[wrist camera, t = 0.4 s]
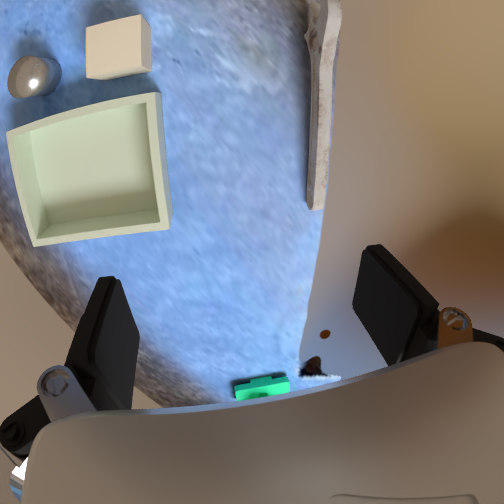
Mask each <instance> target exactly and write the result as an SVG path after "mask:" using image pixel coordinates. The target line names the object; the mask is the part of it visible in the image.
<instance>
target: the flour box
mask: <svg viewBox="0 0 504 504" xmlns="http://www.w3.org/2000/svg"><path fill="white" fill-rule="evenodd" d="M147 72H152V40H151V27H150V26H149V25H148V23H147V22H146V21H145V19H144V18H143V16H142V15H141V14H140V15H135V16H130V17H125V18H121V19H117V20H112V21H108V22H104V23H101V24H97V25H94V26H90V27H87V28H86V76H87V78H92V79H99V80H111V79H115V78H120V77H125V76H130V75H135V74H141V73H147Z"/></svg>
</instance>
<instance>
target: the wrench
mask: <svg viewBox="0 0 504 504" xmlns="http://www.w3.org/2000/svg"><path fill="white" fill-rule="evenodd" d="M320 4H321V8H320V5H319V4H318V3H317V2H311V3H310V5H309V10H308V31H307V32H306V33H305V35H304V38H305V40H306V41H307V45H308V49H309V53H310V59H311V117H310V142H309V162H308V178H307V198H306V202H307V206H308V208H309V210H321V209H323V207H324V203H325V192H326V181H327V169H328V156H329V142H330V125H331V103H332V68H333V62H334V56H335V49H336V43H337V39H338V34H339V29H340V25H341V20H342V6H341V1H340V0H320Z"/></svg>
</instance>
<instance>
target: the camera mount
mask: <svg viewBox="0 0 504 504" xmlns="http://www.w3.org/2000/svg"><path fill="white" fill-rule="evenodd" d="M234 389H235V395H236V399H237V401H242V400H249V399H255V398H261V397H267V396H273V395H278V394H284V393H289V389H290V383H289V379H288V377H280V378H275V379H272V377H271V376H268V377H262V378H256V379H251V380H250V383H247V384H241V385H236V386H235V387H234Z"/></svg>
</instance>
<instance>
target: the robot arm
mask: <svg viewBox="0 0 504 504" xmlns="http://www.w3.org/2000/svg"><path fill="white" fill-rule="evenodd" d="M352 305H353V309H354V311H355V313H356V315H357V316H358V318H359V319H360V321H361V322H362V324H363V325H364V327H365V329H366V330H367V332H368V333H369V335H370V337H371V338H372V340H373V341H374V343H375V345H376V346H377V348H378V350H379V351H380V353H381V354H382V356H383V358H384V359H385V361H386V363H387V364H388V367H385V368H382V369H379V370H376V371H372V372H369V373H366V374H362V375H359V376H355V377H352V378H348V379H344V380H340V381H337V382H333V383H329V384H325V385H321V386H316V387H312V388H308V389H303V390H298V391H294V392H289V393H284V394H278V395H273V396H267V397H261V398H255V399H249V400H242V401H235V402H228V403H219V404H210V405H200V406H189V407H175V408H158V409H135V410H134V409H133V410H132V409H131V407H132V396H133V387H134V378H135V370H136V362H137V355H138V348H139V341H140V336H139V331H138V329H137V326H136V323H135V321H134V318H133V316H132V313H131V310H130V307H129V305H128V302H127V299H126V296H125V293H124V290H123V287H122V284H121V282H120V280H119V279H116V278H115V277H114V276H107V277H100V278H99V279H98V281H97V283H96V285H95V288H94V290H93V292H92V295H91V297H90V300H89V302H88V305H87V307H86V310H85V312H84V314H83V315H82V317H81V319H80V322H79V324H78V327H77V330H76V332H75V335H74V338H73V341H72V344H71V347H70V349H69V353H68V355H67V358H66V362H65V365H64V366H61V365H57V366H53V367H50V368H48V369H47V370H46V371H44V372H43V373H42V375H41V376H40V378H39V380H38V382H37V391H38V394H39V395H37V396H36V397H35V398H33V399H32V400H31V401H29V402H28V403H26V404H25V405H24V406H22V407H21V408H20V409H18V410H17V411H16V412H14V413H13V414H11V415H10V416H9V417H7V418H6V419H5V420H4V421H3V423H2V424H1V426H0V504H504V338H501V337H499V336H495V335H492V334H489V333H486V332H483V331H480V330H477V329H474V328H472V322H471V319H470V317H469V316H468V315H467V314H466V313H465V312H464V311H462V310H461V309H458V308H456V307H445V308H443V309H442V310H441V311H440V312H439V310H438V309H437V308H438V306H439V303H438V302H437V301H436V300H435V299H434V298H433V296H432V295H431V294H430V293H429V292H428V291H427V290H426V289H425V288H424V287H423V286H422V285H421V284H420V283H419V282H418V281H417V280H416V278H415V277H414V276H413V275H412V274H411V273H410V272H409V271H408V270H407V269H406V268H405V267H404V266H403V265H402V264H401V263H400V262H399V261H398V260H397V259H396V258H395V257H394V256H393V255H392V254H391V253H390V252H389V251H388V250H387V249H386V248H384V247H383V246H382V245H381V244H377V245H369V246H367V247H366V249H365V250H363V252H362V257H361V262H360V267H359V273H358V278H357V283H356V288H355V293H354V297H353V303H352Z"/></svg>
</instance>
